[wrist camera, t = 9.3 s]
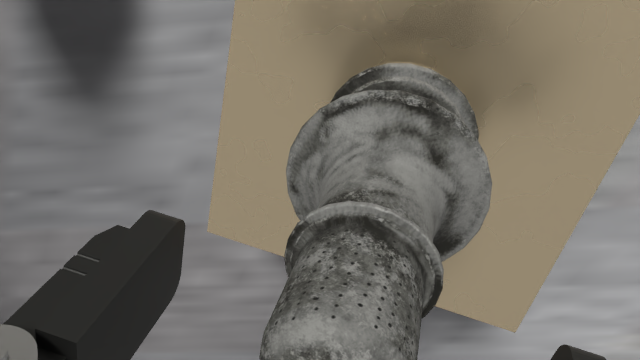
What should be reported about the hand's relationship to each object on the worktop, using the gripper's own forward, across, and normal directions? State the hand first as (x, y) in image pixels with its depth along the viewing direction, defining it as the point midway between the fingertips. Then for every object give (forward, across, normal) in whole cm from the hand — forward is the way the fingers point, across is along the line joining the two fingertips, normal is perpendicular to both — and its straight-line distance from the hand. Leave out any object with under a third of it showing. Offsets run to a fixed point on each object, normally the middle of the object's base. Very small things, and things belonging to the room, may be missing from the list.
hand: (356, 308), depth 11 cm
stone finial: (+9, 0, 0) cm, 9 cm away
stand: (+18, 0, 0) cm, 18 cm away
